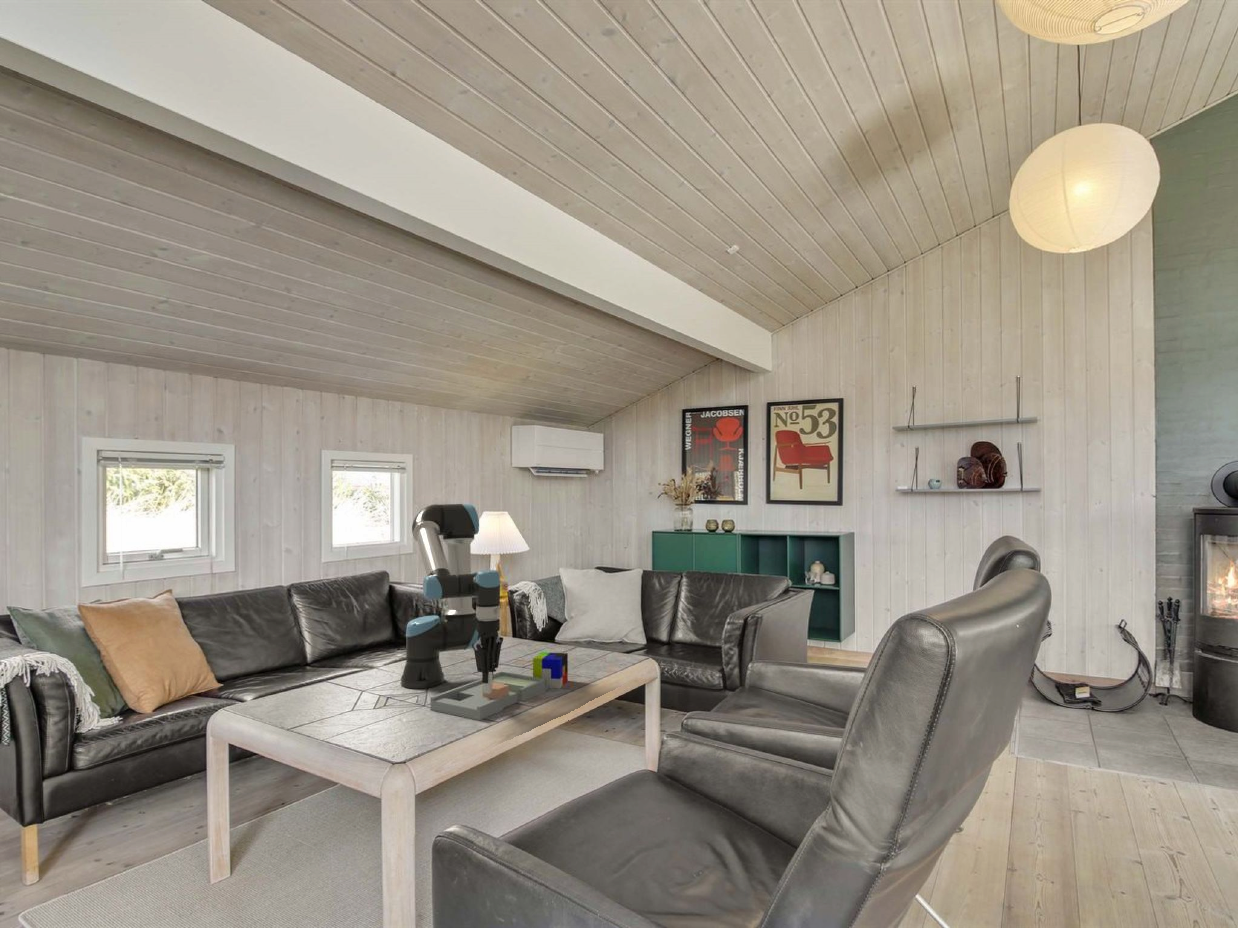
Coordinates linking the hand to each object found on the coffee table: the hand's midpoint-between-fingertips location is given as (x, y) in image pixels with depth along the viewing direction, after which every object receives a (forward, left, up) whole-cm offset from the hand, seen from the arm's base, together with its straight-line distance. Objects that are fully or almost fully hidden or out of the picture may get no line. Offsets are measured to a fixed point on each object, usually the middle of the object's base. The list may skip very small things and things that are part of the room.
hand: (487, 692), depth 223 cm
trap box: (-4, +6, -5) cm, 9 cm away
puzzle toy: (+2, +32, -5) cm, 33 cm away
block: (0, +4, -2) cm, 4 cm away
